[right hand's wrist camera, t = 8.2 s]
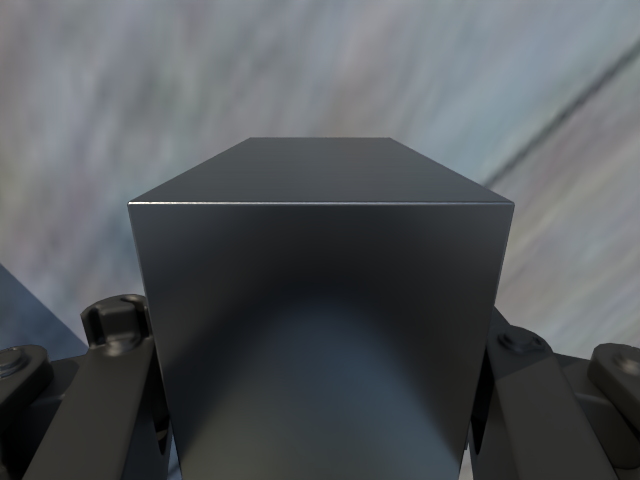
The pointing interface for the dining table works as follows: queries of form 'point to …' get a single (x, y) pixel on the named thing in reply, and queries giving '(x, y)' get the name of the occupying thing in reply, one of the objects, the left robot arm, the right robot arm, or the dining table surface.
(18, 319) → the dining table surface
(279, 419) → the bar
